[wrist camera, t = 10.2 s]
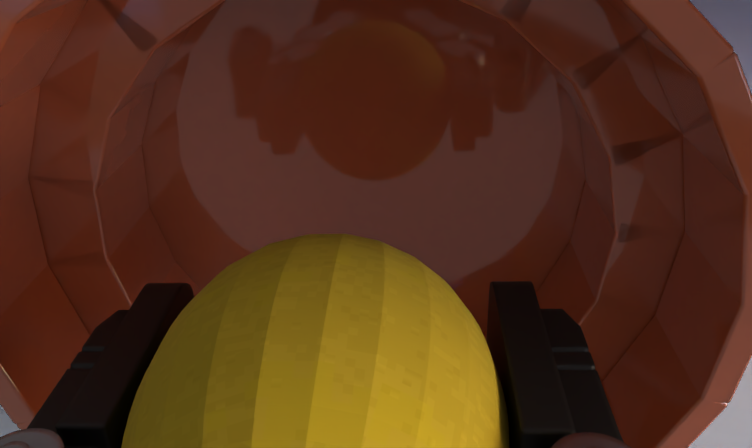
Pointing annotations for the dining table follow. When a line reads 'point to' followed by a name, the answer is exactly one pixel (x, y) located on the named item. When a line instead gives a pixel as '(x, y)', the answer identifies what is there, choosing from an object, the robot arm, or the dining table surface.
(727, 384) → the bowl
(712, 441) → the dining table surface
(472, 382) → the lemon
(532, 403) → the robot arm
